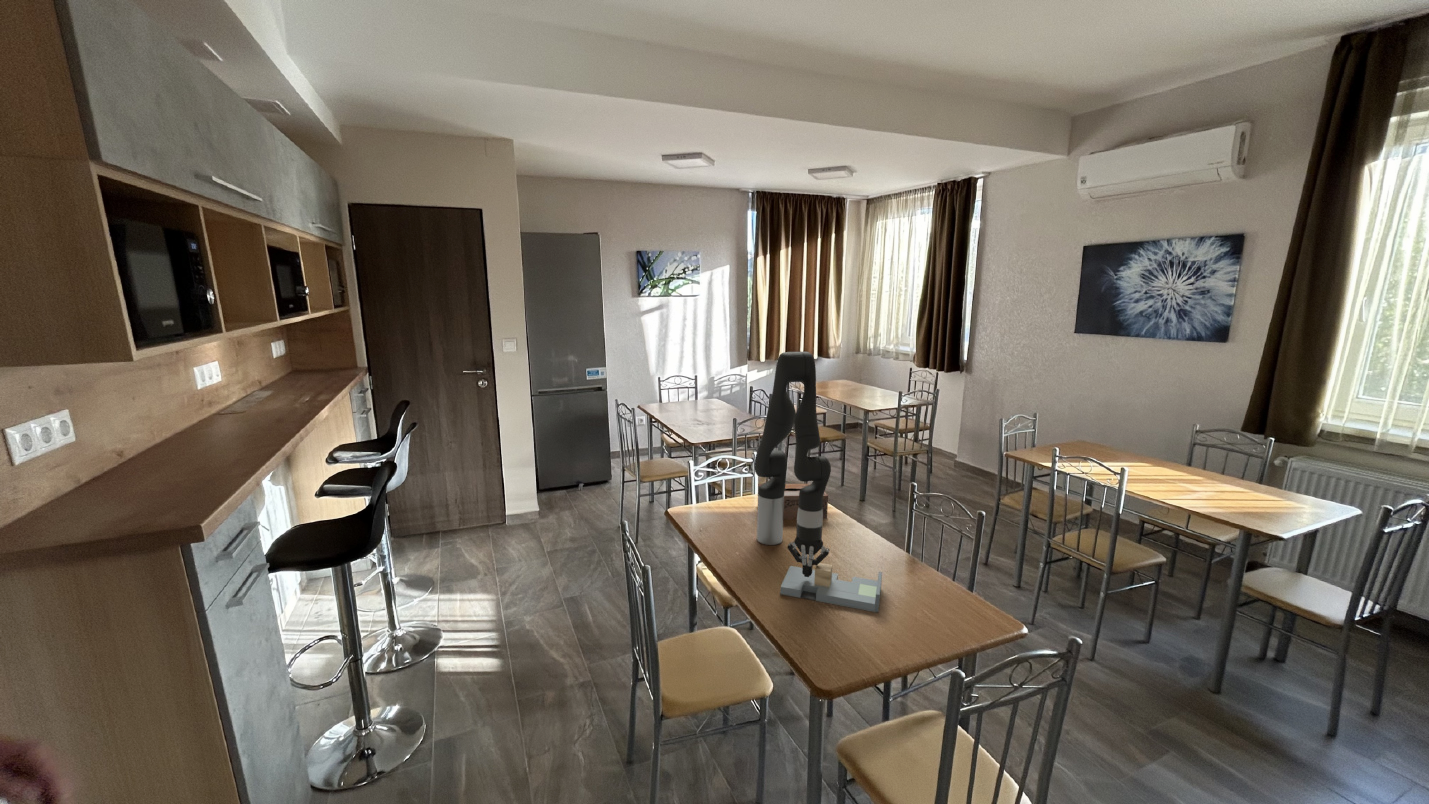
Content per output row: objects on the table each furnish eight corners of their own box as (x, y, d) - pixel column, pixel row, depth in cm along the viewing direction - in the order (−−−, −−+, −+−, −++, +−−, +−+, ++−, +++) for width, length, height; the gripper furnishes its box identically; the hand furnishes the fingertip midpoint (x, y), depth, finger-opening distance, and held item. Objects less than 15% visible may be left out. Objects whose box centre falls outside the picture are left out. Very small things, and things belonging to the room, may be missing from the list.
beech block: (816, 577, 172) (817, 562, 171) (831, 580, 171) (832, 565, 170) (814, 584, 168) (815, 569, 167) (829, 587, 167) (830, 571, 166)
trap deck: (790, 572, 180) (790, 556, 179) (880, 588, 171) (882, 572, 170) (780, 594, 167) (780, 577, 166) (878, 612, 158) (879, 594, 157)
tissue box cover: (762, 520, 222) (763, 496, 221) (757, 506, 237) (758, 484, 235) (826, 519, 224) (828, 495, 222) (818, 506, 238) (819, 483, 236)
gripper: (833, 520, 169) (830, 574, 172) (790, 514, 173) (788, 566, 176) (830, 530, 162) (827, 585, 165) (785, 523, 166) (782, 577, 169)
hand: (807, 575), depth 171 cm, fingers closed
